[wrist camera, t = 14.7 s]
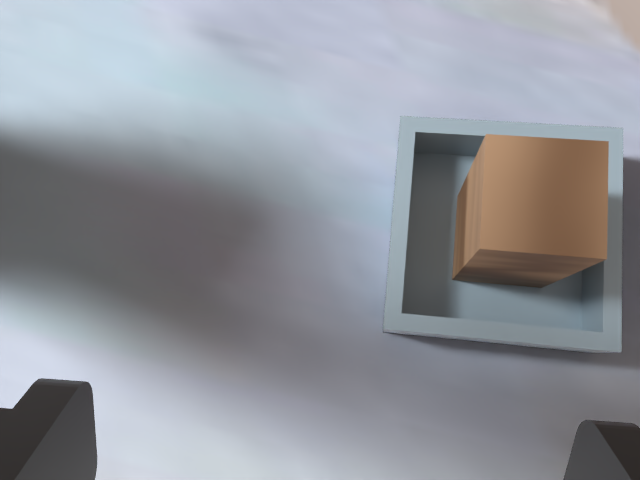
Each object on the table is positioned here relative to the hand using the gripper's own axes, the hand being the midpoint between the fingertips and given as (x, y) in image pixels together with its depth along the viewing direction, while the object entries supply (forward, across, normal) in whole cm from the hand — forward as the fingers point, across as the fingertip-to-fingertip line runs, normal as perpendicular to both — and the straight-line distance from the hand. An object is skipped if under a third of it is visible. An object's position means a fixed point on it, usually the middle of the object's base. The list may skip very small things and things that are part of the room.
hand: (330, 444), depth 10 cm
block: (+21, -9, +4) cm, 23 cm away
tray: (+22, -9, +4) cm, 24 cm away
